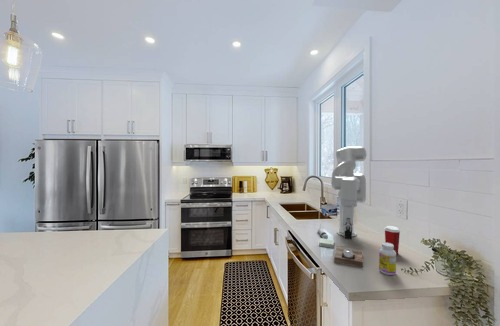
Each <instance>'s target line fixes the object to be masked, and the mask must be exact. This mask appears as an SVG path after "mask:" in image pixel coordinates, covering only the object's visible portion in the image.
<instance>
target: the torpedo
mask: <svg viewBox="0 0 500 326" xmlns="http://www.w3.org/2000/svg"><path fill="white" fill-rule="evenodd" d="M319 226H320V227H319V228H317V230H316V231H317V232H318V233H319V235H320V236H321V238H322V239H329V237H328V234H327V233H326V231H325V230H324V228H322V227H321V224H320V225H319Z"/></svg>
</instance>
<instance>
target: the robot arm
mask: <svg viewBox="0 0 500 326" xmlns="http://www.w3.org/2000/svg"><path fill="white" fill-rule="evenodd" d="M335 157H336V160H337V162H338V165H337V166H336V167H335V168H334V169H333V171H332V173H331V187H332V188H331V189H333V190H334V191H335V190H336V191H338V193H337V196H338V197H337V198H338V206H339V207H338V209H339V210H338V212H339V213H338V215H339V216H338V223H339V224H338V226H339V227H338V229H337V230H336V233H337V234H338V235H339V236H344V239H345V240H352V238H353V237H356V236H357V232H356V231H355V208H356V207H357V206H358V204H364V203H365V202H366V200H367V199H366V198H367V196H366V195H367V194H366V193H367V192H366V191H367V187H366V186H367V182H366V176H365V174H363V173H355V172H354V170H355V169H356V167H357V162H360V163H361V162H364V161H365V160H366V158H367V150H366V148H365V147H363V146H346V147H343V148H340V149H337V150H336V153H335Z"/></svg>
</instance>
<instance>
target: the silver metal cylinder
mask: <svg viewBox="0 0 500 326" xmlns="http://www.w3.org/2000/svg"><path fill="white" fill-rule="evenodd" d="M344 258H348V259H353V251H352V250H349V249H345V250H344Z"/></svg>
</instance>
